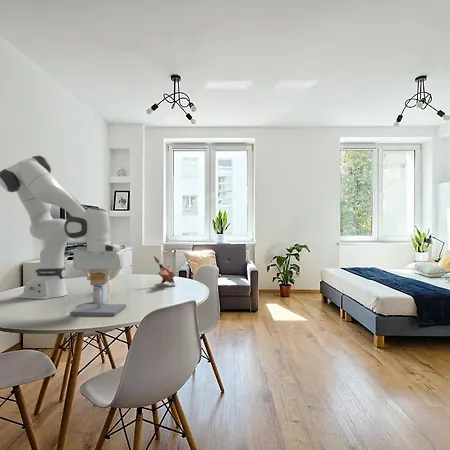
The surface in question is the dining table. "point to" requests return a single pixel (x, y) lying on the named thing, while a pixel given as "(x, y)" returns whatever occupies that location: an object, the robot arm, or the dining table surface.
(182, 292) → the dining table surface
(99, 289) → the stand
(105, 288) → the medicine box
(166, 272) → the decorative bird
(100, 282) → the bead
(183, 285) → the dining table surface
